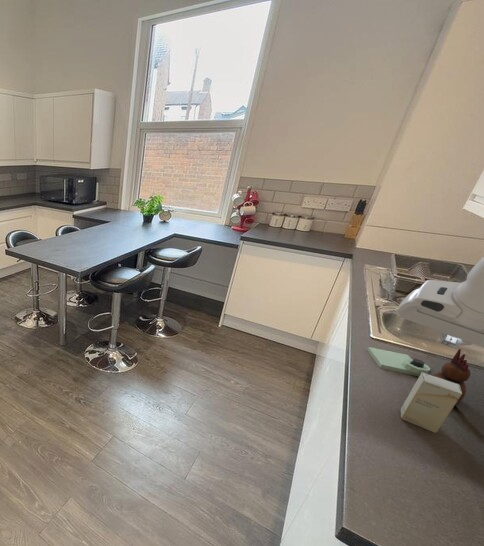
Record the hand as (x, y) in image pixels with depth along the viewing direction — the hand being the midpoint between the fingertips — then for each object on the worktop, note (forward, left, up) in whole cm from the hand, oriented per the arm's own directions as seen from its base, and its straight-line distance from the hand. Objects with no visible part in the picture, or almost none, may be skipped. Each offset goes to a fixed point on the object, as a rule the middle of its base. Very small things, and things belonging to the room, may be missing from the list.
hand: (447, 343), depth 70 cm
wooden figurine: (-10, -10, -22) cm, 26 cm away
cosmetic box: (-1, +2, -22) cm, 22 cm away
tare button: (-10, -22, -19) cm, 30 cm away
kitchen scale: (-6, -25, -21) cm, 34 cm away
